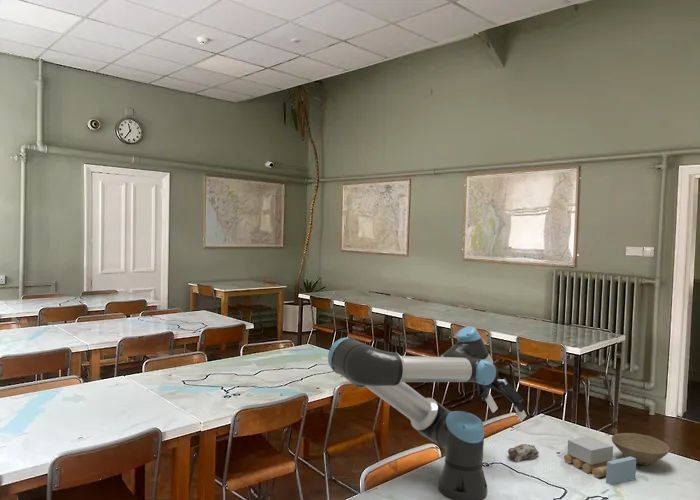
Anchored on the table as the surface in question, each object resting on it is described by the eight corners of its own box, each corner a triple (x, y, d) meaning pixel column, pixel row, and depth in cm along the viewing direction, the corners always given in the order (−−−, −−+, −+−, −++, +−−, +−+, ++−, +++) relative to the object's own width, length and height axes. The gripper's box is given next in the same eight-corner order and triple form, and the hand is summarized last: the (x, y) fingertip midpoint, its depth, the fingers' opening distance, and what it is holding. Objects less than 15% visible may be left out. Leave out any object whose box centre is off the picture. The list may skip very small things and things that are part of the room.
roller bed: (599, 479, 174) (599, 470, 174) (563, 461, 187) (564, 453, 187) (623, 473, 179) (623, 464, 179) (586, 456, 192) (587, 448, 192)
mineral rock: (531, 450, 197) (531, 438, 197) (546, 458, 189) (546, 446, 189) (499, 455, 192) (499, 443, 192) (513, 463, 184) (513, 451, 184)
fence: (611, 485, 170) (612, 464, 169) (606, 482, 171) (606, 461, 171) (635, 479, 175) (636, 458, 175) (629, 476, 176) (630, 456, 176)
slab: (590, 464, 177) (591, 450, 177) (567, 453, 186) (567, 440, 186) (612, 460, 182) (613, 446, 182) (588, 449, 191) (589, 436, 191)
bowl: (610, 466, 185) (611, 444, 184) (611, 448, 201) (611, 428, 201) (670, 478, 176) (671, 455, 176) (666, 459, 192) (667, 438, 192)
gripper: (517, 364, 172) (542, 414, 177) (466, 356, 194) (490, 401, 198) (504, 378, 169) (530, 428, 173) (453, 368, 191) (478, 413, 195)
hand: (509, 414), depth 186 cm, fingers open, 13 cm apart
